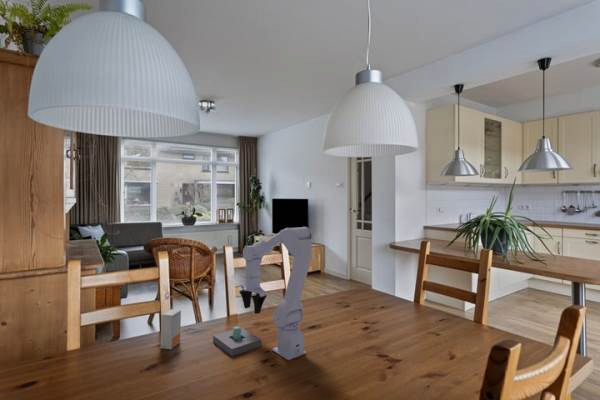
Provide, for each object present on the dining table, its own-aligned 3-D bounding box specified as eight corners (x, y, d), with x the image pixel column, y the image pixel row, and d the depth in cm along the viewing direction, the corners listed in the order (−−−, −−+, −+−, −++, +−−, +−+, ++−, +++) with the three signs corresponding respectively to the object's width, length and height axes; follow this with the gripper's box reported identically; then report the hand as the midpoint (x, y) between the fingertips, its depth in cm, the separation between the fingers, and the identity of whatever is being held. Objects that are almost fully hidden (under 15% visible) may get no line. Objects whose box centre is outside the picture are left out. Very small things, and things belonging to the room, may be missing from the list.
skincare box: (171, 349, 114) (171, 315, 114) (160, 348, 115) (160, 314, 115) (180, 342, 120) (181, 309, 120) (170, 341, 121) (171, 309, 121)
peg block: (261, 346, 118) (261, 339, 118) (231, 356, 110) (231, 349, 110) (241, 333, 128) (241, 327, 128) (213, 342, 120) (213, 335, 120)
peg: (242, 344, 119) (242, 328, 119) (235, 346, 117) (235, 330, 117) (238, 341, 121) (238, 325, 121) (231, 343, 119) (231, 327, 119)
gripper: (234, 273, 131) (234, 307, 131) (254, 281, 120) (253, 317, 120) (249, 271, 135) (249, 304, 135) (269, 278, 124) (269, 313, 124)
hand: (252, 310), depth 128 cm, fingers open, 7 cm apart
